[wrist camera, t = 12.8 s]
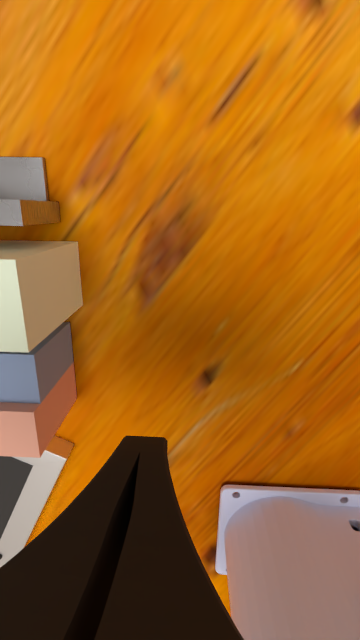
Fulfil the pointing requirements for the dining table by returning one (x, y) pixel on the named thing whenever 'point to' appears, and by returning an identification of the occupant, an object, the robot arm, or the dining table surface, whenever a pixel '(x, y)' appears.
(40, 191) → the bookend
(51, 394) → the shelved books
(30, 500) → the picture frame
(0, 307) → the beige rectangular block
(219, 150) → the dining table surface
